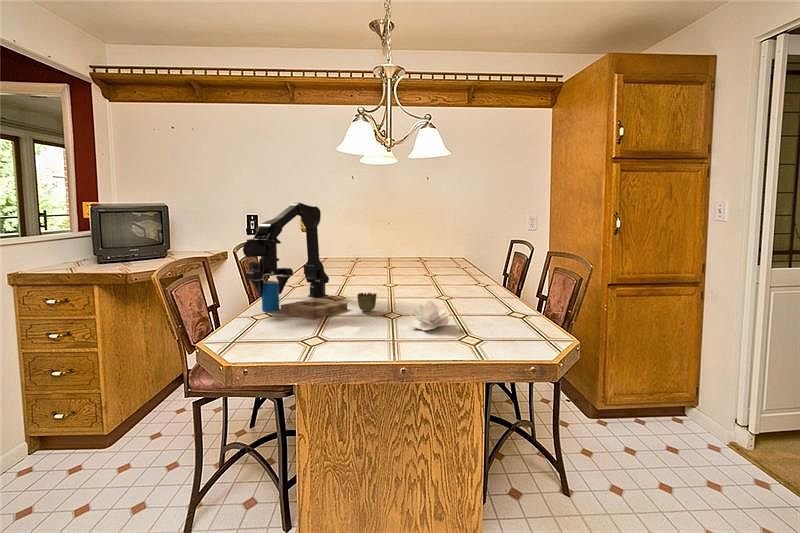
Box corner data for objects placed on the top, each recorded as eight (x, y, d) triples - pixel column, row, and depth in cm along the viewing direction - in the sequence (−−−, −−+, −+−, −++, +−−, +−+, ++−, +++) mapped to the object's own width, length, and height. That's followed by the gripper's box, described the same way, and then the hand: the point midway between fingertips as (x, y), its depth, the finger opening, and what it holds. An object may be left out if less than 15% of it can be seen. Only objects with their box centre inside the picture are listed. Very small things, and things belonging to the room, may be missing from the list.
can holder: (315, 306, 185) (315, 298, 184) (347, 311, 174) (347, 303, 174) (280, 313, 170) (280, 304, 170) (313, 320, 160) (313, 310, 159)
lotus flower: (402, 330, 146) (402, 304, 145) (414, 320, 160) (414, 296, 159) (445, 333, 141) (445, 306, 140) (453, 323, 156) (454, 299, 155)
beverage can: (276, 313, 170) (275, 282, 169) (259, 313, 170) (259, 282, 169) (281, 310, 177) (280, 280, 175) (265, 310, 177) (264, 280, 176)
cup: (373, 316, 165) (373, 295, 164) (354, 315, 167) (354, 295, 166) (378, 312, 173) (378, 292, 172) (360, 312, 174) (360, 291, 173)
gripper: (275, 253, 184) (276, 290, 185) (235, 256, 168) (237, 296, 170) (293, 254, 177) (294, 293, 179) (253, 257, 162) (255, 299, 164)
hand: (270, 295), depth 173 cm, fingers open, 9 cm apart
